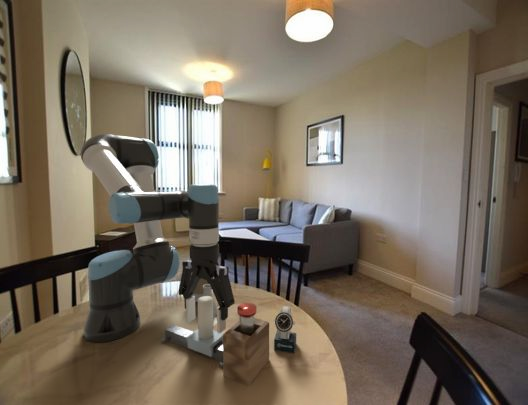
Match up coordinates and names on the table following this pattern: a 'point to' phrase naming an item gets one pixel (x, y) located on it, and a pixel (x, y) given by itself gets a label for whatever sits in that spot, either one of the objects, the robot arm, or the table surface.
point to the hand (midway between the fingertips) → (205, 325)
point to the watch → (284, 331)
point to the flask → (208, 293)
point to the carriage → (204, 329)
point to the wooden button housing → (245, 352)
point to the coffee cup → (199, 288)
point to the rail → (180, 338)
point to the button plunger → (246, 318)
